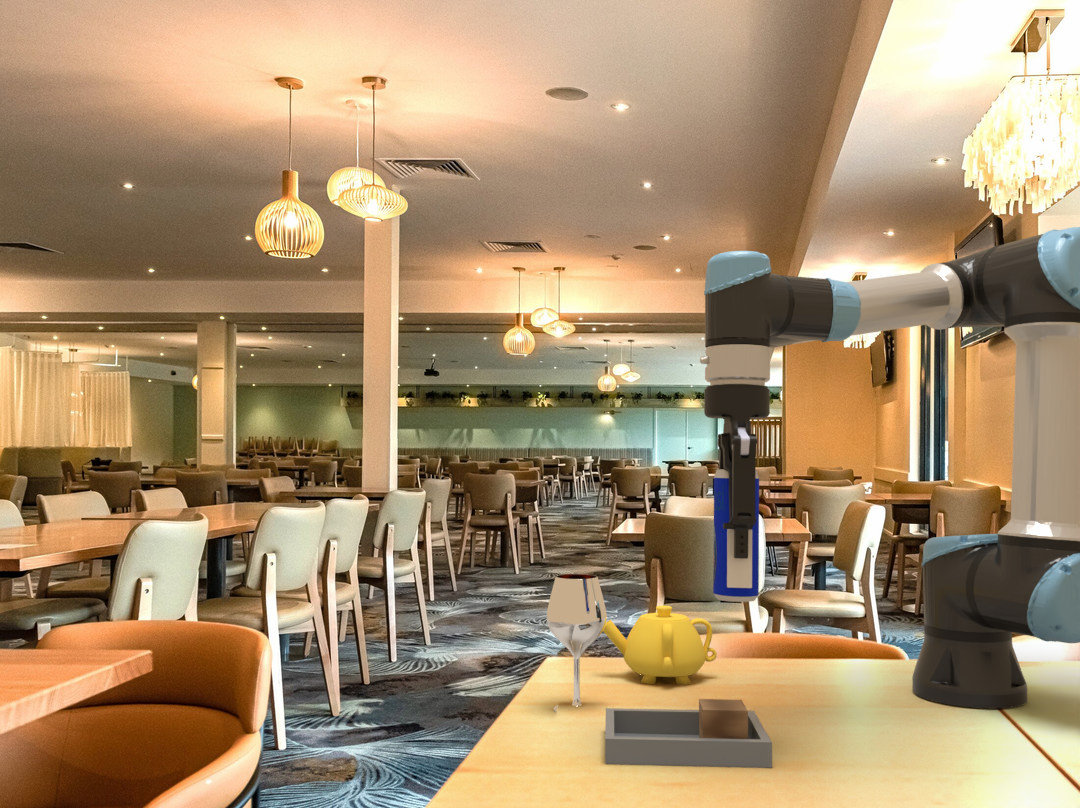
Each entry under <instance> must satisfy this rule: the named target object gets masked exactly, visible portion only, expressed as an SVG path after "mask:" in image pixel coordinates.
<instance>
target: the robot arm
mask: <svg viewBox="0 0 1080 808" xmlns="http://www.w3.org/2000/svg"><path fill="white" fill-rule="evenodd" d="M772 272H773V271H772V266H771V260H770V257H769V256H768V255H767V254H765V253H760V252H759V251H753V250H732V251H731V250H730V251H724V252H721V253H717V254H715V255H713V256H712V257H710V259H709V260H708V261H707V264H706V271H705V283H704V291H703V295H704V308H705V309H704V331H705V333H704V341H705V346H704V348H705V349H704V350H705V352H704V353H705V355H701V356H700V358H699V363H700V364H702V365H706V366H705V368H704V374H705V375H704V380H705V381H706V382H707V383H710V385H707V386H706V387H705V388H704V390H703V391H704V392H703V393H704V396H703V397H704V400H703V401H704V402H703V403H704V405H703V406H704V409H703V410H704V411H703V413H704V416H705V417H707V418H709V419H723V427H722V428H723V431H722V433H718V435H717V447H718V469H724V470H726V471H728V475H729V523H724V524H723V529H727V587H728V588H752V527H753V525H755V524H756V517H755V470H756V461H757V460H756V456H757V455H756V454H757V453H756V452H757V444H758V439H757V435H756V433H752V425H751V420H756V419H757V420H758V419H766V418H768V417H769V416H770V402H771V401H770V397H771V396H770V395H771V394H770V393H771V392H770V388H769V387H768V386H766V383H768V382H769V381H770V380H771V349H772V348H778V347H779V348H780V347H786V346H789V345H796V344H804V343H810V342H817V341H818V342H822V343H828V342H842V341H845V340H847V339H849V338H850V337H851V336H857V335H864V334H870V333H871V334H872V333H878V332H884V331H885V332H886V331H893V330H899V329H900V330H901V329H907V328H913V327H919V326H927V327H929V328H930V329H933V330H938V331H939V330H946V329H953V328H954V329H955V328H987V327H989V328H991V327H992V328H995V327H1003V331H1004V334H1005V335H1006V336H1008V338H1010V339H1011V340H1012V341H1013V343H1014V344H1015V367H1014V369H1015V373H1014V374H1015V375H1014V400H1013V401H1014V404H1013V405H1014V407H1013V431H1012V432H1013V437H1012V439H1013V440H1012V441H1013V442H1012V463H1011V464H1012V467H1011V469H1012V471H1011V501H1010V502H1011V503H1010V504H1011V505H1010V520H1009V521H1008V523H1006V525H1004V526H1003V527H1002V528H1001V529H999V530H998V532H997V533H981V534H979V533H978V534H964V535H945V536H944V535H943V536H936V537H931V538H930V537H929V538H928V539H927V540H926V541H925V543H924V544H923V550H922V553H923V554H922V555H923V556H922V562H921V571H922V572H921V574H922V576H921V578H922V598H923V599H922V601H923V623H924V624H923V625H924V626H923V627H924V628H923V629H924V630H923V631H924V633H923V634H924V637H923V638H924V639H923V642H922V645H921V648H920V652H919V654H918V657H917V658H918V659H917V660H916V664H915V667H914V669H913V673H912V680H911V681H912V693H913V694H915V695H916V696H918V697H919V698H922V699H925V700H928V701H932V702H936V703H940V704H945V705H951V706H957V707H965V708H973V709H974V708H978V709H1008V708H1017V707H1020V706H1023V705H1025V704H1026V703H1028V686H1027V681H1026V679H1025V677H1024V674H1023V671H1022V668H1021V666H1020V663H1019V660H1018V657H1017V654H1016V652H1015V649H1014V645H1013V634H1019V635H1024V636H1028V637H1033V638H1037V639H1039V640H1042V641H1044V642H1055V643H1056V642H1057V643H1058V642H1059V643H1064V644H1079V643H1080V226H1074V227H1067V228H1064V229H1063V228H1062V229H1050V230H1048V231H1046V232H1044V233H1041V234H1037V235H1033V236H1030V237H1029V236H1028V237H1026V238H1022V239H1018V240H1015V241H1011V242H1005V243H1004V244H998V245H994V246H991V247H988V248H986V249H982V250H980V251H977V252H974V253H973V252H972V254H968V255H965V256H962V257H958V258H956V259H951V260H949V261H945V262H944V261H943V262H939V263H938V262H937V263H931V264H929V265H927V266H925V267H924V268H923V269H921V270H920V271H919V272H915V273H907V274H906V273H905V274H899V275H893V276H892V275H890V276H884V277H877V278H869V279H861V280H853V281H842V280H835V279H832V278H830V277H826V278H817V277H807V276H793V275H792V276H791V275H782V274H778V273H772Z"/></svg>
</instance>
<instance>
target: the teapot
mask: <svg viewBox="0 0 1080 808" xmlns="http://www.w3.org/2000/svg"><path fill="white" fill-rule="evenodd" d="M655 609H656V612H649V613H645V614H644V613H643V614H641V615H640V616H639V617H638V619H637V620H636V621H635V622H634V625H633V626H632V628H631V630H630V631H629V633H628V635H627V638H626V637H625V636H624V635H623V633H622V632H621V631H620V629H619V628H618V627H617V626H616V624H615V623H614V622H613V621H612V619H609V620H608V621H606V625H605V628H604V630H603V631H602V632H603V633H604V634H605V635H606V636H607V638H608V639H609V640H610V641H611V642H612V643H613V644H614V646H615V647H616V648H617V649H618V650H619V652H620V654H622V655H623V660H624V662H625V663H626V665H627V666H628V668H629V669H631V671H632V672H634V673H635V674H636V673H637V674H638V675H639V674H641V675H644V676H642V679H641V680H640V683H641V682H642V683H641V684H643V683H647V684H646V685H653V683H654V684H656V681H657V677H658V678H660V677H661V678H662V677H663V678H674V679H675V682H676V684H679V685H691V684H692V681H691V680H690V678H689V676H693V675H695V674H697V673H698V672H699V671H700V670H701V668H702V667H703V666H704V664H705V663H706V662H707V663H709V662H713V661H715V660H716V658H717V651H716V649H715V648H713V647H710V645H711V642H712V638H713V626H712V624H711V623H710V622H709V621H708V620H706V619H704V618H700V617H695V618H693V619H690V618H689V617H688V615H685V614H681V613H676V612H675V613H673V612H672V610H673V607H672V606H671V605H657V606H655ZM671 612H672V613H671ZM696 624H702V625H704V626H705V628H706V636H705V637H706V638H705V641H704V644H703V641H702V637H701V636H700V634H699V632H698V630H697V628H696V626H694V625H696ZM709 652H711V653H712V654H711V655H710V656H709ZM641 675H640V676H641ZM651 683H652V684H651Z"/></svg>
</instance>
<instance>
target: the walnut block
mask: <svg viewBox="0 0 1080 808" xmlns="http://www.w3.org/2000/svg"><path fill="white" fill-rule="evenodd" d="M698 710H699V738H716V739H748V711H749V710H748V709H747V707H746V705H745V703H744V701H743V700H742V699H725V698H723V699H721V698H719V699H718V698H717V699H716V698H715V699H714V698H698Z"/></svg>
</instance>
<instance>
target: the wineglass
mask: <svg viewBox="0 0 1080 808" xmlns="http://www.w3.org/2000/svg"><path fill="white" fill-rule="evenodd" d="M549 597H550V598H549V601H548V605H547V611H546V623H547V626H548V629H549V630H550V632H551V633H552V635H553V636H554V637H555V638H556V639H557V641H559V642H560V643H561V644H562V645H563V646H564V647H565V648H567V650H568V651H569V652H570V654H571V655H572V657H573V700H572V703H571V706H573V707H580V706H582V705H583V704H582V701H581V695H580V693H581V688H580V677H581V676H580V674H581V673H580V671H581V670H580V665H581V663H580V662H581V661H580V658H581V655H582V654H583V653H584V652H585V650H586V649H587V648H588V647H589V646H590V645H591V644H593V643H594V642H595V641H596V640H597V639H598V638H599V637H600V636H601V634H602V633H603V632H604V631H603V630H604V628H605V625H606V622H608V621H607V618H608V617H607V608H606V605H605V600H604V596H603V593H602V589H601V585H600V581H599V577H598V576H597V575H595V574H587V573H586V574H585V573H570V574H569V573H567V574H559V575H555V578H554V581H553V585H552V590H551V592H550V596H549ZM558 707H559V704H556V705H555V706H553V711H554V712H555V713H557V712H558V709H559V708H558Z"/></svg>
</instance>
